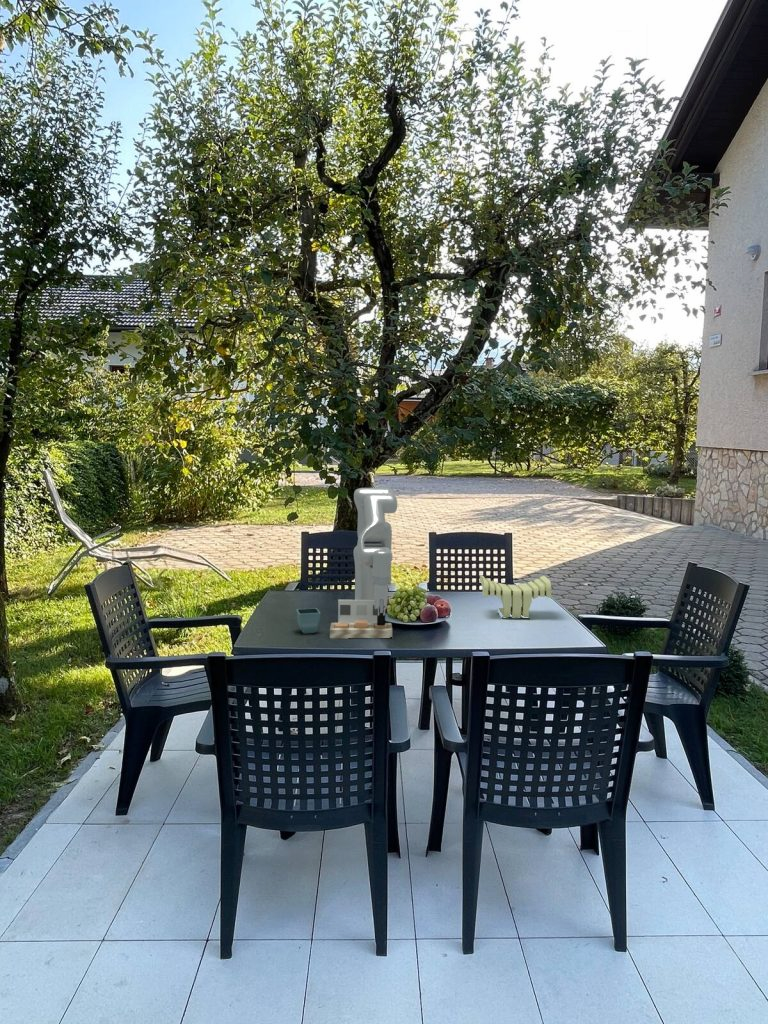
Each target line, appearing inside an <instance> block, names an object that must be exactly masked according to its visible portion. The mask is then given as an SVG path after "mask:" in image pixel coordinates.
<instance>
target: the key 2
mask: <svg viewBox="0 0 768 1024" xmlns="http://www.w3.org/2000/svg"><path fill="white" fill-rule="evenodd" d="M387 623H388V622H385V625H377V623H375V628H387Z"/></svg>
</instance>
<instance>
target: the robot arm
mask: <svg viewBox="0 0 768 1024" xmlns="http://www.w3.org/2000/svg"><path fill="white" fill-rule="evenodd" d="M353 501H354V504H355V506H356V507H355V508H356V510H357V530H356V531H357V538H358V539H357V544H356V546H355V547H354V548H353V560H354V579H355V580H354V582H355V583H354V600H374V607H375V609H378V615H377V625H385V623H386V610H387V608H388V607H387V605H388V597H389V594H388V593H389V591H388V590H389V586H390V585H391V584H392V561H393V558H394V557H393V552H392V544H393V543H392V540H393V539H392V538H393V531H392V529H393V528H392V525H391V524H390V522H388V521H386V515H385V514H395V513H396V512H397V510H398V499H397V496H396V494H395V492H394V491H393V490H392V489H391V488H389V487H360V488H357V489H355V490H354V493H353ZM365 542H367V543H365ZM372 542H373V543H372Z"/></svg>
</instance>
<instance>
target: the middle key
mask: <svg viewBox="0 0 768 1024" xmlns="http://www.w3.org/2000/svg"><path fill="white" fill-rule="evenodd" d="M355 628H367V620H355Z"/></svg>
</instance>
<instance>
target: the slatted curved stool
mask: <svg viewBox="0 0 768 1024" xmlns="http://www.w3.org/2000/svg"><path fill="white" fill-rule="evenodd" d="M479 582H480V584H481V588H482V596H483V597H484V598H486V597H489V596H490V597H497V598H499V599H500V600H501V603H502V607H500V608H499V607H498V609H499V610H500V612H501V613H502V615H503V617H510V614H511V615H512V617H520V618H521V615H522V616H524V617H529V618H530V614H529V613H530V612H529V611H530V608H531V605H532V604H533V603H532V602H533V600H535V599H537V598H539V597H541V598H545V597H546V598H549V599H551V598H552V584H551V580H550V579H549V578H548V577H546V576H545V575H542V576H540V577H539V578H536V579H534V580H532V581H531V580H530V581H528V582H527V583H526V582H525V583H524V582H523V583H519V584H506V583H500V582H496V581H494V580H491V579H489V578H487V577H485V576H483V575H482V574H479ZM510 618H511V617H510Z"/></svg>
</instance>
